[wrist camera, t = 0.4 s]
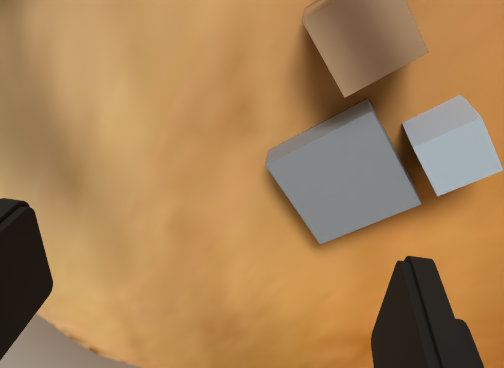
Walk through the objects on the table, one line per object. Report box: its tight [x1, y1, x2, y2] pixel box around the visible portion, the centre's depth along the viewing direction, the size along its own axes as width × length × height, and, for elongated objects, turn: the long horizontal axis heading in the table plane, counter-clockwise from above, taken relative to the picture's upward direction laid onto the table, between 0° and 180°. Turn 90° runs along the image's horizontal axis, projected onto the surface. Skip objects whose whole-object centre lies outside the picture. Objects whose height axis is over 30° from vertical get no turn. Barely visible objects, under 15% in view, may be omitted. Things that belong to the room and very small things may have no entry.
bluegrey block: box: [402, 95, 503, 196], centre depth 33 cm, size 5×5×5 cm
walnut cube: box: [302, 0, 429, 98], centre depth 29 cm, size 6×6×6 cm
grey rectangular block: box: [265, 98, 421, 244], centre depth 37 cm, size 10×10×3 cm
